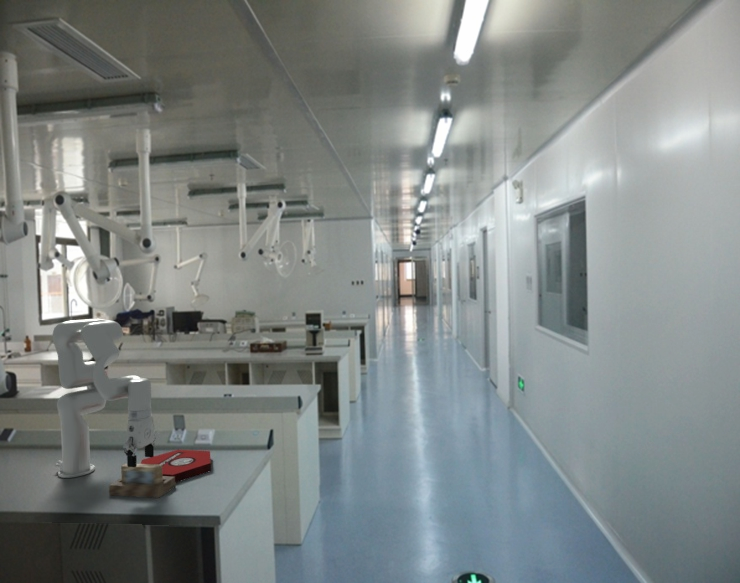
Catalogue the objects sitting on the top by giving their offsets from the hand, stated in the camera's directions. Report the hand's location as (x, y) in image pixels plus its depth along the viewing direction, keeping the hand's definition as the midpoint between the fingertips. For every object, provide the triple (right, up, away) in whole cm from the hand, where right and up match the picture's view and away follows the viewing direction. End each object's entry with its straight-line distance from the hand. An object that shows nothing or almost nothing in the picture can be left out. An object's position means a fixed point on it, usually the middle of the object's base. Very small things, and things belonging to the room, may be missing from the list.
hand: (140, 461), depth 182 cm
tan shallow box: (+1, -10, 0) cm, 10 cm away
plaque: (+5, -10, +21) cm, 24 cm away
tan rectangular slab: (+1, -9, 0) cm, 9 cm away
